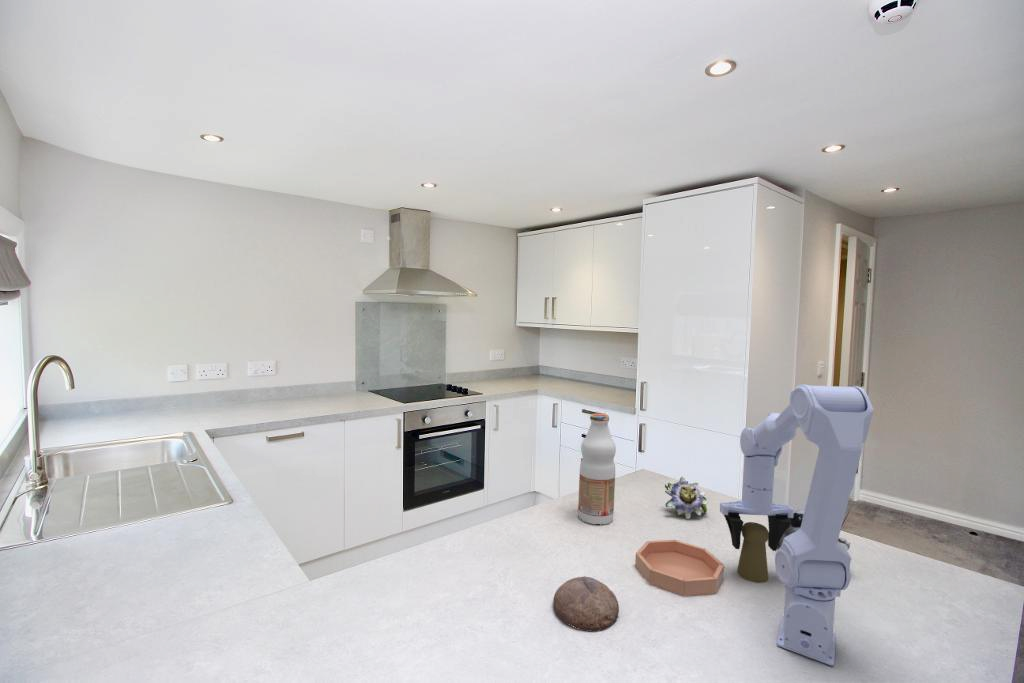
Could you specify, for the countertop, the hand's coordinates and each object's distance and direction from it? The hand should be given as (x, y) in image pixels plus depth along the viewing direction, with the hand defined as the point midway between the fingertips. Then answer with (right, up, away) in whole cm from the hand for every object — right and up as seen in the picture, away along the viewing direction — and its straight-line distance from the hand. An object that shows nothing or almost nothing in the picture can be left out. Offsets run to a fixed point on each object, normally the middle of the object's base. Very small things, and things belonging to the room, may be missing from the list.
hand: (753, 547), depth 102 cm
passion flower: (-3, -4, +32) cm, 32 cm away
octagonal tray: (-16, -5, 0) cm, 17 cm away
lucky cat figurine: (+18, -6, +9) cm, 21 cm away
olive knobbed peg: (0, -6, 0) cm, 6 cm away
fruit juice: (-29, -4, +27) cm, 40 cm away
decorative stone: (-38, -6, -14) cm, 41 cm away
